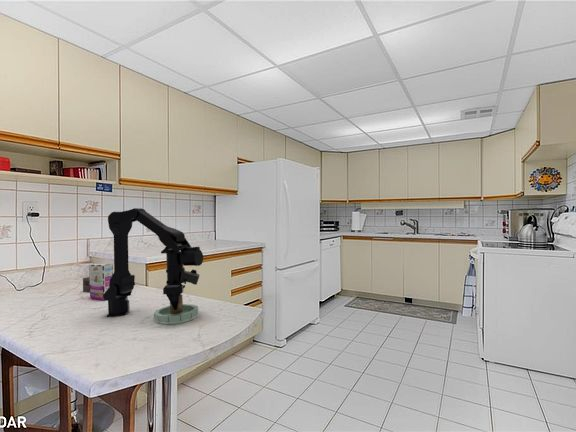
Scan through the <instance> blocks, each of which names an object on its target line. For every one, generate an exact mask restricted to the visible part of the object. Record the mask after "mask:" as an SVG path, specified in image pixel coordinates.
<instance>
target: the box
mask: <svg viewBox="0 0 576 432" xmlns="http://www.w3.org/2000/svg"><path fill="white" fill-rule="evenodd" d="M82 292H83V293H90V276H88V277H82Z"/></svg>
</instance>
